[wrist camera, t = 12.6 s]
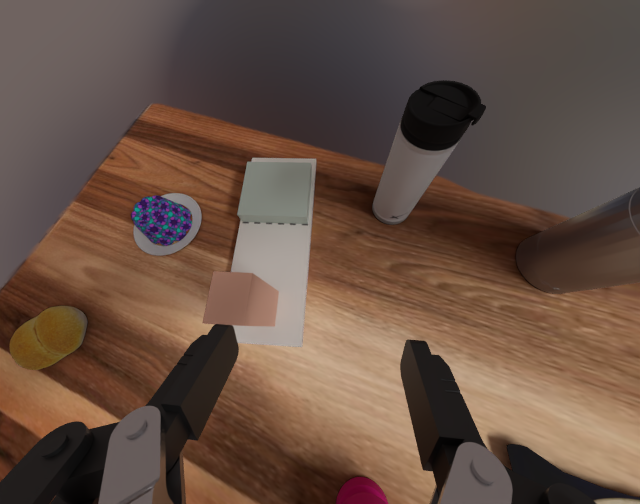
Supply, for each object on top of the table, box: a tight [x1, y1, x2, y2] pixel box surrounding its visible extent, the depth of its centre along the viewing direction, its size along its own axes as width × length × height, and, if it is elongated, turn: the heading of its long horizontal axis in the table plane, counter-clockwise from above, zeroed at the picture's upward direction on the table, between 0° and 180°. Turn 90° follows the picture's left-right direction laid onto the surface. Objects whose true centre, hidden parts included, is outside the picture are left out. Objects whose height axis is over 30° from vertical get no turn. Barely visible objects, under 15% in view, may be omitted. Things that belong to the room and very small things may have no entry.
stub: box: [203, 271, 279, 327], centre depth 27 cm, size 5×4×12 cm
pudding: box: [131, 193, 201, 256], centre depth 38 cm, size 12×12×5 cm
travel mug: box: [372, 81, 486, 225], centre depth 29 cm, size 6×7×20 cm
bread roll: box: [10, 306, 88, 370], centre depth 33 cm, size 8×9×4 cm
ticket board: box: [231, 158, 316, 347], centre depth 36 cm, size 32×12×4 cm, turn 177°
